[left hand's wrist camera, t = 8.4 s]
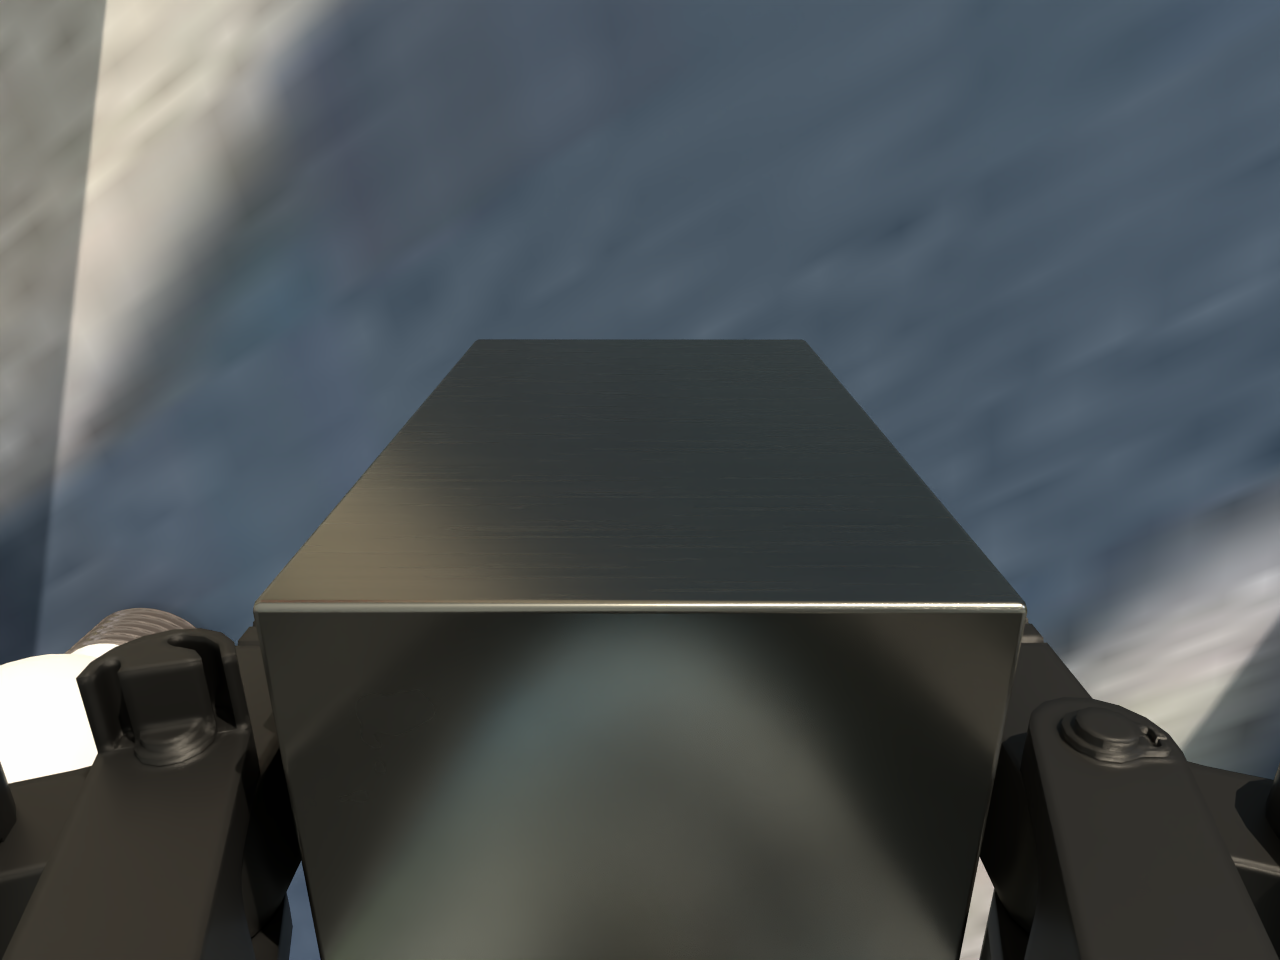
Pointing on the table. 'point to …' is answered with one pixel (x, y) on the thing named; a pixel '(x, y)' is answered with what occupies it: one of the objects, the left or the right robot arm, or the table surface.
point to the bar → (640, 671)
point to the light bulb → (62, 698)
